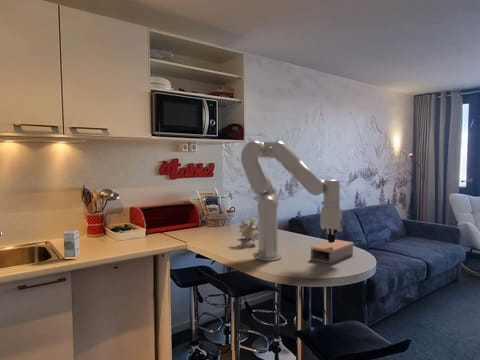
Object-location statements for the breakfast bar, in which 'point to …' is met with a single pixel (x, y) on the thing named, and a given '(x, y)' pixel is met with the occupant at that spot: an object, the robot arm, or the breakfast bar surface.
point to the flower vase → (249, 231)
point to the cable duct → (332, 255)
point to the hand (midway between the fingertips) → (331, 242)
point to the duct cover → (332, 246)
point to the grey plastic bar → (325, 256)
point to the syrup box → (71, 243)
